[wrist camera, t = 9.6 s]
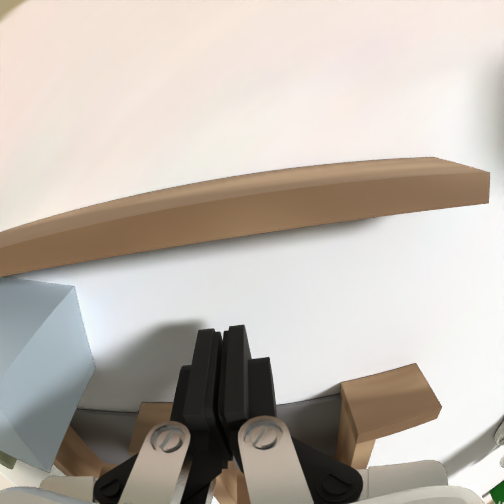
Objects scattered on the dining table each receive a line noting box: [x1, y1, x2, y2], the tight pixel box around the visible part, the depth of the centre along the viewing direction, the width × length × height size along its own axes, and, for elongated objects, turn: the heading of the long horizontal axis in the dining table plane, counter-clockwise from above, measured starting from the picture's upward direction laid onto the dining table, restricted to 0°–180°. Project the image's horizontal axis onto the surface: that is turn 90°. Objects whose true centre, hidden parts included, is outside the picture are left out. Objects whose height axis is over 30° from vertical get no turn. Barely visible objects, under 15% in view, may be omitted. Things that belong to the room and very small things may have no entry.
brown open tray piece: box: [0, 157, 490, 504], centre depth 12 cm, size 20×26×6 cm
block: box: [0, 276, 96, 473], centre depth 10 cm, size 5×5×7 cm
